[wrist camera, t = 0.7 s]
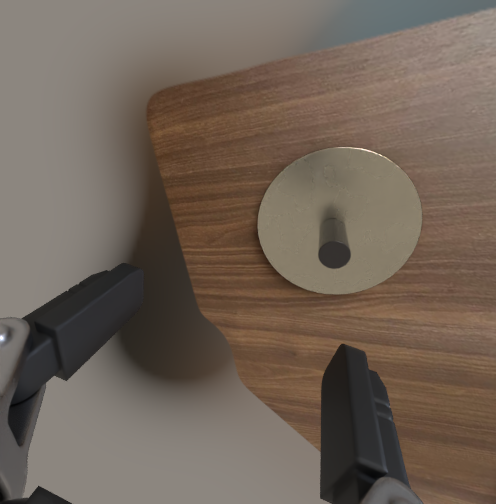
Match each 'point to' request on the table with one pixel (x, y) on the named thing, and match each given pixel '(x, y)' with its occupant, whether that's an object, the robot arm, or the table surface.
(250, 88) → the table surface
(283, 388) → the table surface
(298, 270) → the lid
